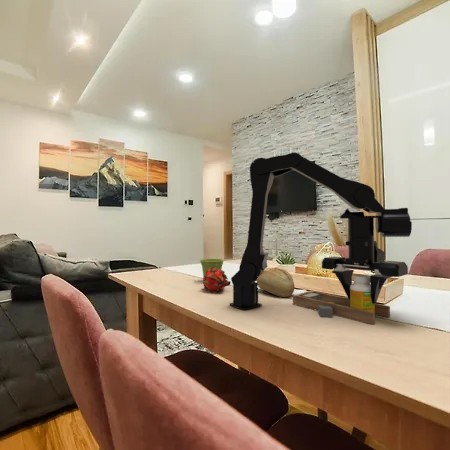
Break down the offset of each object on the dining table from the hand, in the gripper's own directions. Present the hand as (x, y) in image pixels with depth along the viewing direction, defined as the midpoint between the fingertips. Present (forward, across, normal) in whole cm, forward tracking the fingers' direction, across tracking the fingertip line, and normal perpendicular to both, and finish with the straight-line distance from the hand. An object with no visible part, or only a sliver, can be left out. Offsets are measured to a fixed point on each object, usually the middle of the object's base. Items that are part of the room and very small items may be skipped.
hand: (361, 301), depth 72 cm
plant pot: (+3, +57, +3) cm, 58 cm away
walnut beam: (+4, +6, 0) cm, 7 cm away
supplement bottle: (+4, 0, 0) cm, 4 cm away
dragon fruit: (+3, +44, +11) cm, 46 cm away
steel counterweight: (+3, +15, 0) cm, 15 cm away
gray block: (+4, +6, +7) cm, 10 cm away
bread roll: (+4, +29, -2) cm, 30 cm away
